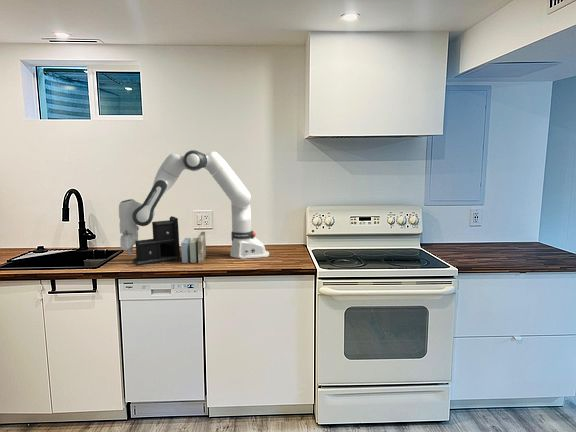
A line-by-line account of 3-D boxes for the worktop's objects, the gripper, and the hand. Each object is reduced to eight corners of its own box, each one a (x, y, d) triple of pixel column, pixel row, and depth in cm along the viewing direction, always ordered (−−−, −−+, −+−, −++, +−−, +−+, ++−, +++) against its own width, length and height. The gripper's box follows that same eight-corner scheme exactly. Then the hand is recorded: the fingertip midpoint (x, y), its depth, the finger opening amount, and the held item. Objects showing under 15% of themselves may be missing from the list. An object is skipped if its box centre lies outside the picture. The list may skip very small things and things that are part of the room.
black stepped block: (136, 266, 214) (133, 221, 211) (132, 261, 223) (129, 219, 220) (180, 260, 226) (178, 218, 223) (175, 256, 235) (173, 216, 232)
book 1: (191, 257, 233) (190, 238, 232) (187, 262, 219) (186, 242, 218) (186, 257, 233) (185, 238, 232) (182, 263, 219) (181, 242, 218)
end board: (206, 255, 236) (205, 231, 234) (202, 263, 218) (201, 237, 216) (202, 255, 236) (201, 231, 234) (198, 263, 218) (197, 237, 216)
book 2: (199, 256, 234) (198, 237, 232) (196, 262, 220) (195, 242, 218) (194, 256, 233) (193, 237, 232) (190, 262, 219) (189, 242, 218)
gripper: (128, 232, 211) (130, 258, 213) (139, 226, 231) (141, 250, 233) (116, 232, 211) (118, 259, 212) (128, 226, 231) (129, 250, 233)
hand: (130, 254), depth 223 cm, fingers closed
